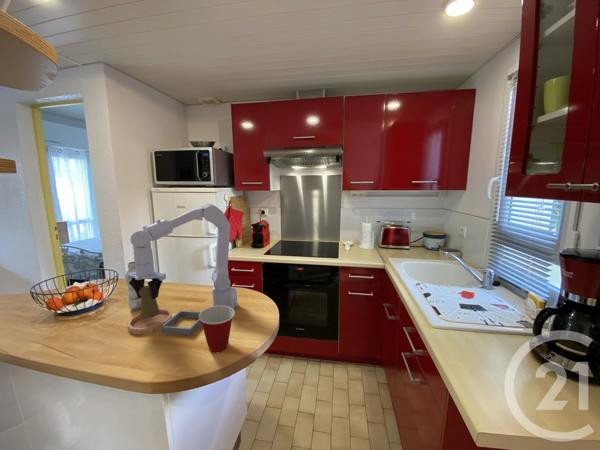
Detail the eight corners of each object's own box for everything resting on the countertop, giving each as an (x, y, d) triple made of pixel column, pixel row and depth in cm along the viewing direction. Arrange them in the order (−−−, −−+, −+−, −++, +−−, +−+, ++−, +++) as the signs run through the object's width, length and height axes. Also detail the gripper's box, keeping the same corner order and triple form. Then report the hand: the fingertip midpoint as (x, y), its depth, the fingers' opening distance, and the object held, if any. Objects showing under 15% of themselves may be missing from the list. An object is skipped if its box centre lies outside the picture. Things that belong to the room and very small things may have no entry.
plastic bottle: (127, 313, 98) (121, 266, 94) (130, 306, 103) (124, 261, 100) (146, 309, 100) (141, 264, 97) (147, 302, 106) (143, 259, 103)
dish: (179, 314, 97) (179, 309, 96) (154, 335, 83) (154, 330, 82) (148, 312, 98) (147, 307, 98) (118, 332, 84) (117, 327, 84)
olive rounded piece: (149, 319, 86) (145, 290, 84) (136, 317, 87) (132, 289, 86) (163, 311, 91) (159, 283, 90) (151, 309, 93) (147, 282, 92)
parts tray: (207, 318, 94) (206, 312, 93) (191, 335, 83) (190, 329, 82) (180, 316, 95) (180, 310, 95) (161, 333, 84) (160, 327, 84)
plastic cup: (237, 354, 73) (235, 318, 71) (199, 362, 70) (196, 324, 68) (236, 334, 84) (234, 302, 82) (203, 339, 81) (200, 306, 79)
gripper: (116, 265, 84) (121, 301, 86) (154, 266, 82) (158, 303, 84) (133, 259, 90) (137, 292, 93) (168, 260, 89) (171, 294, 91)
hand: (148, 297), depth 89 cm, fingers closed on olive rounded piece, 5 cm apart
